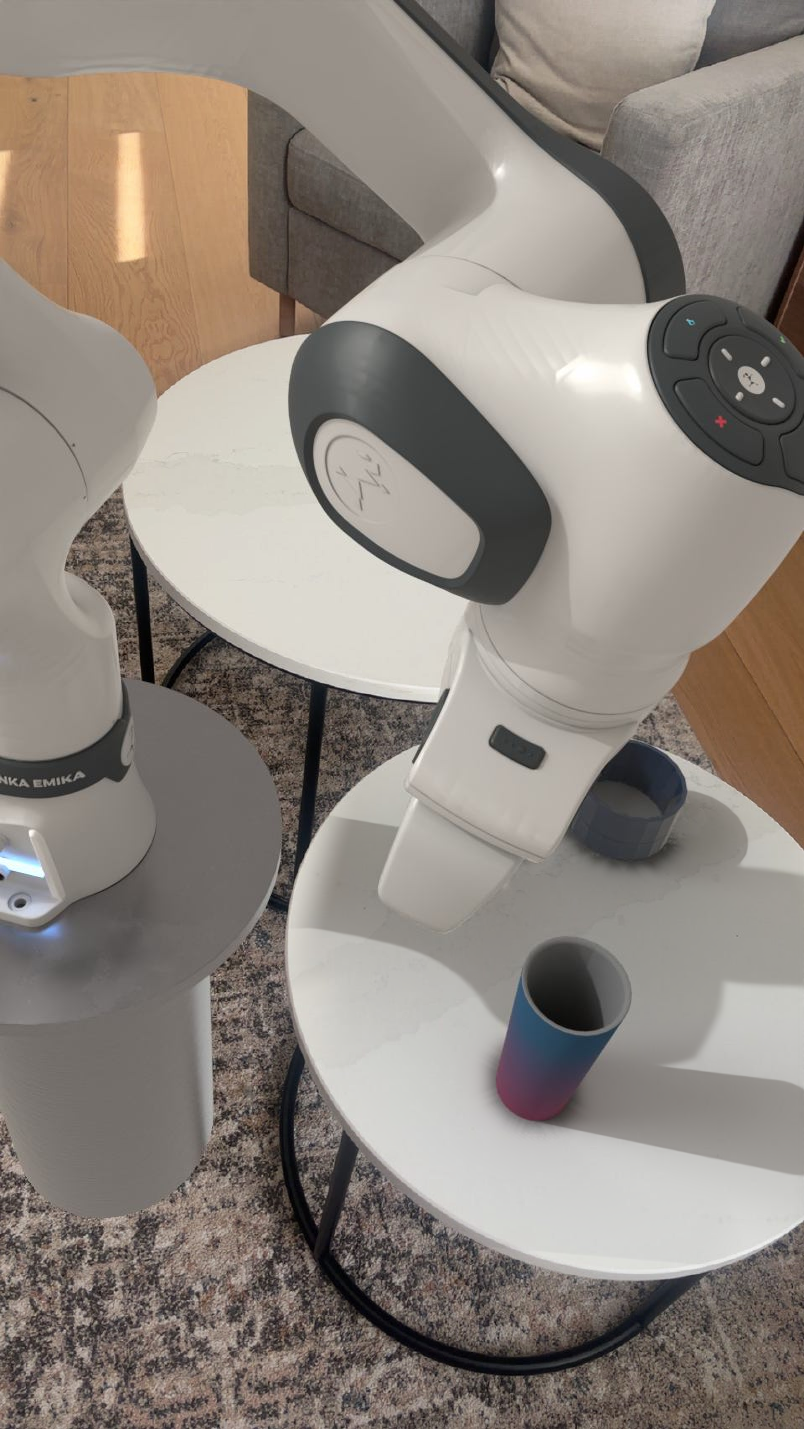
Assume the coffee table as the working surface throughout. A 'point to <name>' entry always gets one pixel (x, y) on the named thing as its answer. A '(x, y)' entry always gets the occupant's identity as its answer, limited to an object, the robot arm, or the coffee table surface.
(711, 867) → the coffee table surface
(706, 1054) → the coffee table surface
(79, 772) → the robot arm
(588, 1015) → the cup
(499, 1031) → the coffee table surface
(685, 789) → the ring
